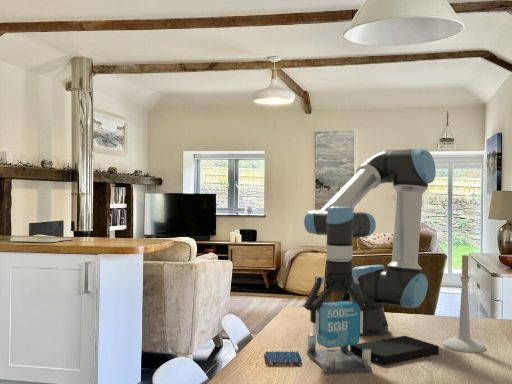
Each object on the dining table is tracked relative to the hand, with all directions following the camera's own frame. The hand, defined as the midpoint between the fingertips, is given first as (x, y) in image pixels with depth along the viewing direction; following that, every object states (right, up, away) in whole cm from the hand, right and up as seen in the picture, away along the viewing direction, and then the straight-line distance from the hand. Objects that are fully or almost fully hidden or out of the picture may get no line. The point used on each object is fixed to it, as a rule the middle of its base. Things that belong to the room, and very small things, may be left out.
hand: (337, 333), depth 166 cm
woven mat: (-16, -9, +1) cm, 18 cm away
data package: (0, -3, 0) cm, 3 cm away
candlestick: (+43, -9, +18) cm, 48 cm away
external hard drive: (+19, -9, +9) cm, 23 cm away
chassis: (0, -8, 0) cm, 8 cm away
